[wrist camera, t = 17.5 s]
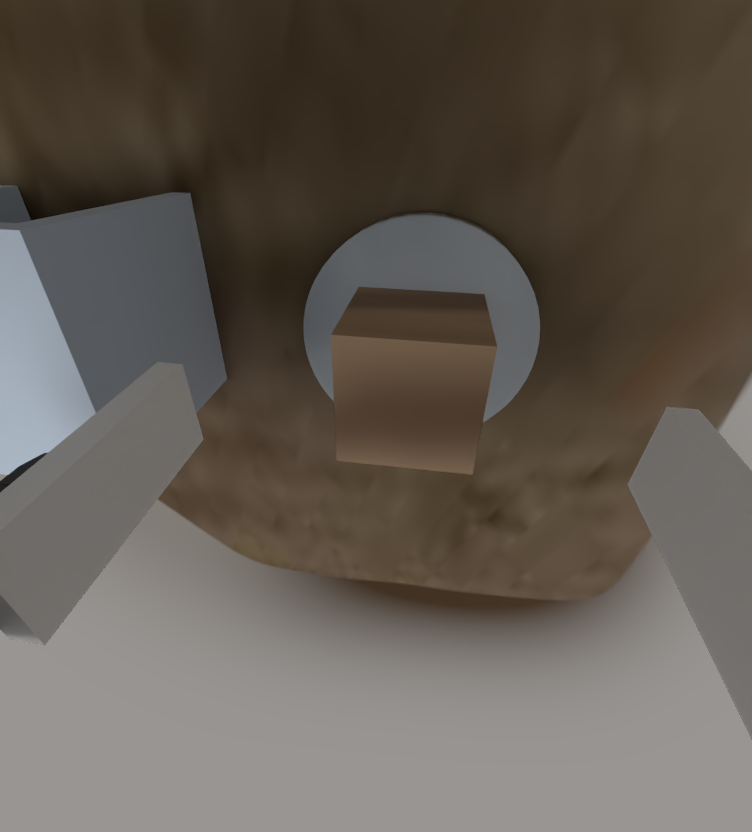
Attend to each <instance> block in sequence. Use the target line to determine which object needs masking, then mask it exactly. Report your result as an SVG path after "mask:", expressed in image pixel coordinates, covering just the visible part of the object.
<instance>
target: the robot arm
mask: <svg viewBox="0 0 752 832" xmlns="http://www.w3.org/2000/svg"><path fill="white" fill-rule="evenodd" d="M202 441H203V436H202V432H201V429H200V425H199V421H198V418H197V414H196V411H195V407H194V404H193V400H192V396H191V393H190V389H189V386H188V382H187V379H186V375H185V371H184V368H183V364H175V363H163V362H157V363H156V364H155V365H153V366H152V367H151V368H150V369H149V370H147V371H146V372H145V373H144V374H143V375H141V376H140V377H139V378H138V379H137V380H135V381H134V382H133V383H132V384H130V385H129V386H128V387H127V388H126V389H124V390H123V391H122V392H121V393H120V394H118V395H117V396H116V397H115V398H114V399H112V400H111V401H110V402H109V403H108V404H106V405H105V406H104V407H103V408H102V409H100V410H99V411H98V412H97V413H96V414H94V415H93V416H92V417H91V418H90V419H88V420H87V421H86V422H85V423H83V424H82V425H81V426H80V427H79V428H77V429H76V430H75V431H74V432H73V433H71V434H70V435H69V436H68V437H67V438H65V439H64V440H63V441H62V442H61V443H59V444H58V445H57V446H56V447H55V448H53V449H52V450H51V451H50V452H49V453H43V454H41V455H39V456H37V457H36V458H34V459H32V460H30V461H28V462H26V463H24V464H22V465H20V466H19V467H17V468H16V469H15V470H14V471H12V472H11V473H10V474H9V475H7V476H6V477H5V478H4V479H3V480H1V481H0V629H1V630H2V631H3V633H5V635H6V636H7V637H8V638H9V639H11V640H16V641H22V642H28V643H35V644H40V645H45V644H46V643H47V642H48V640H49V639H50V638H51V637H52V635H53V634H54V633H55V632H56V630H57V629H58V628H59V626H60V625H61V623H62V622H63V621H64V620H65V618H66V617H67V616H68V615H69V613H70V612H71V611H72V609H73V608H74V607H75V605H76V604H77V603H78V601H79V600H80V599H81V598H82V596H83V595H84V594H85V592H86V591H87V590H88V589H89V587H90V586H91V585H92V583H93V582H94V581H95V580H96V578H97V577H98V576H99V574H100V573H101V572H102V570H103V569H104V568H105V567H106V565H107V564H108V563H109V561H110V560H111V559H112V557H113V556H114V555H115V554H116V552H117V551H118V550H119V548H120V547H121V546H122V544H123V543H124V542H125V540H126V539H127V538H128V537H129V535H130V534H131V533H132V531H133V530H134V529H135V528H136V526H137V525H138V524H139V522H140V521H141V520H142V518H143V517H144V516H145V515H146V513H147V512H148V511H149V509H150V508H151V507H152V505H153V504H154V503H155V502H156V500H157V499H158V498H159V496H160V495H161V494H162V493H163V491H164V490H165V489H166V487H167V486H168V485H169V483H170V482H171V481H172V480H173V478H174V477H175V476H176V474H177V473H178V472H179V470H180V469H181V468H182V467H183V465H184V464H185V463H186V461H187V460H188V459H189V457H190V456H191V455H192V454H193V452H194V451H195V450H196V448H197V447H198V446H199V444H200V443H201V442H202ZM628 487H629V489H630V491H631V493H632V495H633V497H634V499H635V501H636V503H637V505H638V507H639V509H640V512H641V514H642V516H643V518H644V520H645V522H646V524H647V526H648V528H649V530H650V532H651V534H652V536H653V538H654V540H655V542H656V544H657V546H658V548H659V550H660V552H661V554H662V557H663V558H664V560H665V563H666V564H667V567H668V569H669V571H670V573H671V575H672V577H673V579H674V581H675V583H676V585H677V587H678V589H679V591H680V593H681V595H682V597H683V599H684V601H685V603H686V606H687V607H688V610H689V612H690V614H691V616H692V618H693V620H694V622H695V624H696V626H697V628H698V630H699V632H700V634H701V636H702V638H703V640H704V642H705V644H706V647H707V649H708V651H709V653H710V655H711V657H712V659H713V661H714V663H715V665H716V667H717V669H718V671H719V673H720V675H721V677H722V679H723V681H724V683H725V685H726V687H727V689H728V692H729V693H730V695H731V698H732V700H733V702H734V704H735V706H736V708H737V710H738V712H739V714H740V716H741V718H742V720H743V722H744V724H745V726H746V728H747V730H748V732H749V734H750V737H751V738H752V471H751V470H750V468H749V467H748V466H747V465H746V464H745V463H744V461H742V459H741V458H740V457H739V456H738V455H737V453H736V452H735V451H734V450H733V449H732V448H731V447H730V445H729V444H728V443H727V442H726V441H725V439H724V438H723V437H722V436H721V435H720V434H719V432H718V431H717V430H716V429H715V428H714V427H713V426H712V424H711V423H710V422H709V421H708V420H707V419H706V417H705V416H704V415H703V414H702V413H701V412H700V410H698V409H686V408H675V407H666V409H665V411H664V413H663V415H662V417H661V419H660V421H659V423H658V425H657V427H656V429H655V431H654V433H653V435H652V437H651V439H650V441H649V443H648V445H647V447H646V449H645V451H644V453H643V455H642V457H641V459H640V461H639V463H638V465H637V467H636V469H635V471H634V473H633V475H632V477H631V479H630V481H629V483H628Z"/></svg>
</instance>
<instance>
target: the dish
mask: <svg viewBox="0 0 752 832" xmlns="http://www.w3.org/2000/svg"><path fill="white" fill-rule="evenodd" d="M358 287H372V288H389V289H406V290H423V291H440V292H457V293H474V294H484V295H485V299H486V303H487V307H488V311H489V315H490V319H491V323H492V327H493V331H494V335H495V339H496V343H497V351H496V356H495V361H494V366H493V372H492V377H491V382H490V387H489V392H488V398H487V403H486V408H485V413H484V418H483V422H485V421H486V420H488V419H489V418H491V417H492V416H494V415H495V414H497V413H498V412H499V411H500V410H501V409H503V408H504V407H505V406H506V405H507V404H508V403H509V402H510V401H511V400H512V399H513V398H514V396H515V395H516V394H517V393H518V392H519V390H520V389H521V387H522V386H523V384H524V383H525V381H526V379H527V377H528V375H529V373H530V371H531V369H532V367H533V364H534V361H535V358H536V355H537V351H538V345H539V340H540V318H539V309H538V305H537V301H536V297H535V294H534V291H533V289H532V286H531V284H530V282H529V280H528V278H527V276H526V274H525V272H524V271H523V269H522V267H521V266H520V264H519V263H518V261H517V260H516V258H515V256H514V255H513V254H512V253H511V252H510V251H509V250H508V248H507V247H506V246H505V245H504V244H503V243H502V242H501V241H499V240H498V239H497V238H496V237H495V236H494V235H492V234H491V233H490V232H488V231H486V230H485V229H483V228H481V227H480V226H478V225H476V224H474V223H472V222H469V221H467V220H465V219H462V218H459V217H455V216H452V215H448V214H442V213H434V212H411V213H405V214H399V215H394V216H391V217H388V218H385V219H382V220H379V221H377V222H375V223H373V224H371V225H369V226H367V227H365V228H363V229H362V230H360V231H359V232H357V233H356V234H354V235H353V236H351V237H350V238H349V239H348V240H347V241H346V242H345V243H344V244H343V245H341V246H340V247H339V248H338V249H337V250H336V251H335V252H334V253H333V255H332V256H331V257H330V258H329V260H328V261H327V262H326V263H325V264H324V266H323V267H322V269H321V270H320V272H319V274H318V275H317V277H316V279H315V281H314V283H313V285H312V288H311V290H310V292H309V295H308V299H307V303H306V306H305V313H304V321H303V326H304V342H305V349H306V352H307V356H308V360H309V363H310V365H311V368H312V370H313V372H314V375H315V376H316V378H317V380H318V381H319V383H320V385H321V387H322V388H323V389H324V391H325V392H326V393H327V394H328V396H329V397H330V398H331V399H332V400H333V401H334V393H333V371H332V349H331V334H332V332H333V330H334V328H335V327H336V325H337V323H338V322H339V320H340V318H341V316H342V315H343V313H344V311H345V309H346V308H347V306H348V304H349V303H350V301H351V299H352V297H353V296H354V294H355V292H356V290H357V289H358Z"/></svg>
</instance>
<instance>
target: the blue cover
mask: <svg viewBox="0 0 752 832" xmlns="http://www.w3.org/2000/svg"><path fill="white" fill-rule="evenodd" d="M157 362H163V363H175V364H183V368H184V371H185V375H186V379H187V382H188V386H189V389H190V393H191V396H192V400H193V404H194V407H195V411H196V413H197V412H198V411H199V410H200V409H201V407H202V406H203V405H204V404H205V403H206V402H207V401H208V400H209V399H210V398H211V396H212V395H213V394H214V393H215V392H216V391H217V390H218V389H219V388H220V386H221V385H222V384H223V383H224V382H225V381H226V380H227V375H226V370H225V365H224V360H223V355H222V350H221V345H220V340H219V335H218V330H217V325H216V320H215V315H214V310H213V305H212V300H211V295H210V290H209V285H208V280H207V275H206V270H205V265H204V260H203V255H202V250H201V245H200V240H199V235H198V230H197V225H196V220H195V215H194V209H193V204H192V199H191V194H190V193H177V192H171V193H166V194H161V195H156V196H151V197H146V198H141V199H136V200H131V201H126V202H121V203H116V204H111V205H106V206H101V207H96V208H91V209H86V210H81V211H76V212H71V213H66V214H61V215H56V216H51V217H46V218H41V219H36V220H31V219H30V217H29V214H28V212H27V209H26V207H25V204H24V202H23V199H22V196H21V194H20V191H19V189H18V186H10V185H0V474H5V475H9V474H10V473H11V472H12V471H14V470H15V469H16V468H17V467H19V466H20V465H22V464H24V463H26V462H28V461H30V460H32V459H34V458H36V457H37V456H39V455H41V454H43V453H49V452H50V451H51V450H52V449H53V448H55V447H56V446H57V445H58V444H59V443H61V442H62V441H63V440H64V439H65V438H67V437H68V436H69V435H70V434H71V433H73V432H74V431H75V430H76V429H77V428H79V427H80V426H81V425H82V424H83V423H85V422H86V421H87V420H88V419H90V418H91V417H92V416H93V415H94V414H96V413H97V412H98V411H99V410H100V409H102V408H103V407H104V406H105V405H106V404H108V403H109V402H110V401H111V400H112V399H114V398H115V397H116V396H117V395H118V394H120V393H121V392H122V391H123V390H124V389H126V388H127V387H128V386H129V385H130V384H132V383H133V382H134V381H135V380H137V379H138V378H139V377H140V376H141V375H143V374H144V373H145V372H146V371H147V370H149V369H150V368H151V367H152V366H153V365H155V364H156V363H157Z"/></svg>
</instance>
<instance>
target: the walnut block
mask: <svg viewBox="0 0 752 832" xmlns="http://www.w3.org/2000/svg"><path fill="white" fill-rule="evenodd" d="M331 349H332V371H333V393H334V415H335V437H336V459H337V461H344V462H354V463H364V464H374V465H383V466H393V467H403V468H412V469H422V470H432V471H441V472H451V473H461V474H471V475H473V470H474V465H475V460H476V455H477V449H478V444H479V439H480V434H481V429H482V424H483V418H484V413H485V408H486V403H487V398H488V392H489V387H490V382H491V377H492V372H493V366H494V361H495V356H496V351H497V343H496V339H495V335H494V331H493V327H492V323H491V319H490V315H489V311H488V307H487V303H486V299H485V295H484V294H474V293H457V292H440V291H423V290H406V289H389V288H372V287H358V289H357V290H356V292H355V294H354V296H353V297H352V299H351V301H350V303H349V304H348V306H347V308H346V309H345V311H344V313H343V315H342V316H341V318H340V320H339V322H338V323H337V325H336V327H335V328H334V330H333V332H332V334H331Z"/></svg>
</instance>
